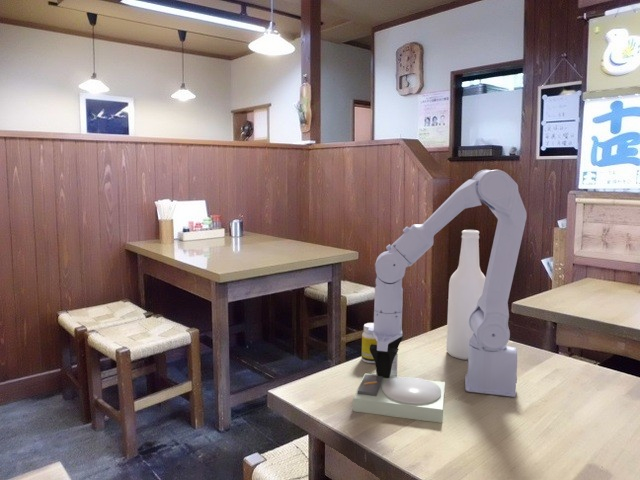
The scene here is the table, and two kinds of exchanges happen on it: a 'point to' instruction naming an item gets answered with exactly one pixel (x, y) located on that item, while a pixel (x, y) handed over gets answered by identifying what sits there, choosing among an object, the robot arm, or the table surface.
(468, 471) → the table surface
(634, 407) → the table surface
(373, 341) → the supplement bottle
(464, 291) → the alcohol
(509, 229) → the robot arm
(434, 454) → the table surface
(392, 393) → the scale
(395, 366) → the cylinder
